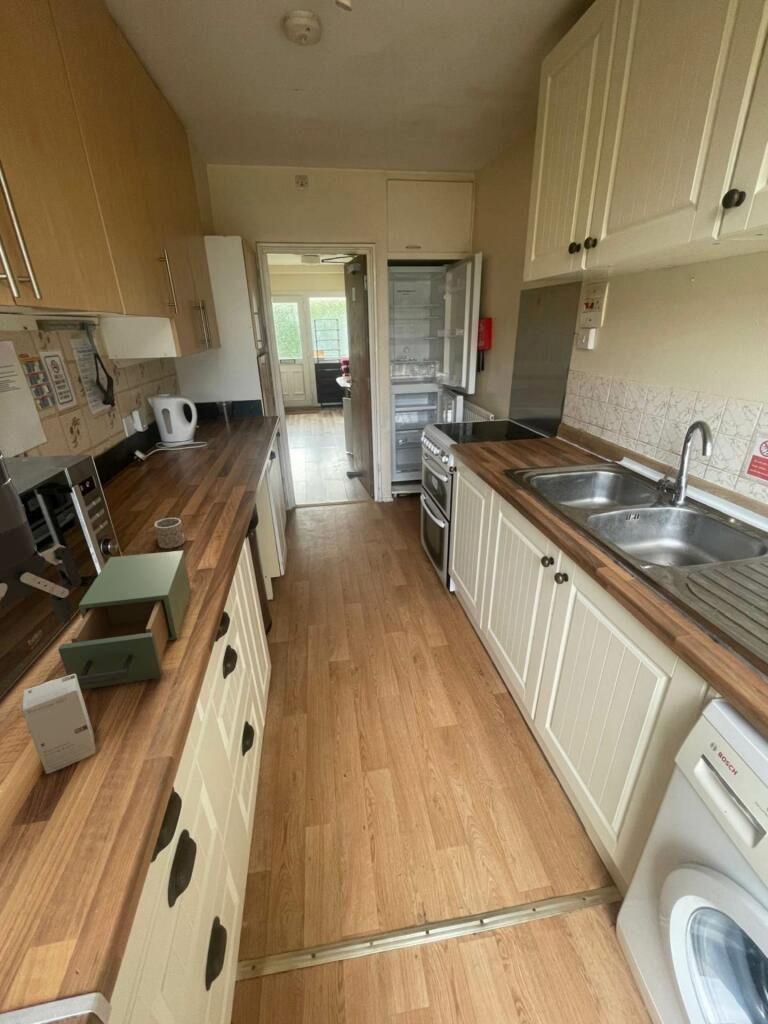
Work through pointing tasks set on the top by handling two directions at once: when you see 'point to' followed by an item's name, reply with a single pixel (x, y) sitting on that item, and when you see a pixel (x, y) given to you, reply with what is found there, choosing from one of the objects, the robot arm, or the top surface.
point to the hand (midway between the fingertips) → (28, 639)
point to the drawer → (118, 644)
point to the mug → (169, 532)
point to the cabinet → (143, 584)
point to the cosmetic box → (58, 722)
